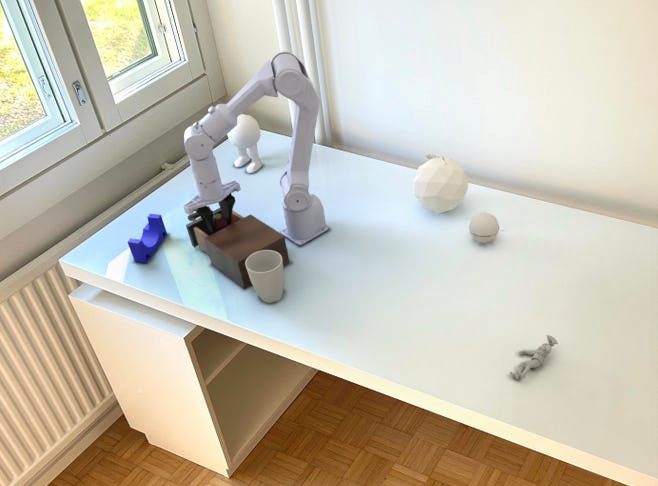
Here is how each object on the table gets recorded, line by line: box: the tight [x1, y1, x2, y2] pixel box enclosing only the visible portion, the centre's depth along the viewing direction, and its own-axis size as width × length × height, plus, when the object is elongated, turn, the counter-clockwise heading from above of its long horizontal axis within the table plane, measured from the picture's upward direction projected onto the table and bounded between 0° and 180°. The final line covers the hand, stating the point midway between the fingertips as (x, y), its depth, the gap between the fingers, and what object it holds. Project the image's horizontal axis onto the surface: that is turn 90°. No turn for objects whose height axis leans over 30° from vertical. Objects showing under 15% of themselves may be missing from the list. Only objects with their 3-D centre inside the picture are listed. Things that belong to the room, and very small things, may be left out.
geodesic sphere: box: [412, 154, 469, 214], centre depth 187 cm, size 15×14×14 cm
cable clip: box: [127, 213, 168, 264], centre depth 182 cm, size 12×4×6 cm, turn 168°
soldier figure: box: [509, 334, 559, 380], centre depth 150 cm, size 8×5×12 cm
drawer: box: [185, 205, 245, 255], centre depth 181 cm, size 17×12×6 cm
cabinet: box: [205, 214, 290, 290], centre depth 175 cm, size 13×13×8 cm
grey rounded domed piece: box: [468, 211, 503, 244], centre depth 179 cm, size 10×7×7 cm
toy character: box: [226, 113, 263, 174], centre depth 205 cm, size 9×9×15 cm
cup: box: [245, 250, 285, 304], centre depth 166 cm, size 8×8×10 cm
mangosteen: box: [213, 214, 228, 233], centre depth 178 cm, size 4×4×4 cm
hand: (220, 226), depth 179 cm, fingers closed on mangosteen, 4 cm apart
